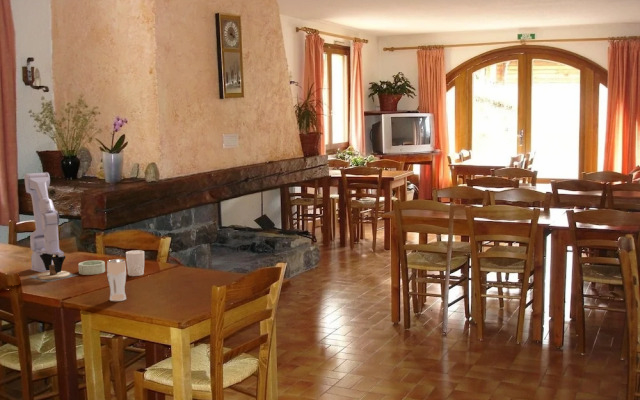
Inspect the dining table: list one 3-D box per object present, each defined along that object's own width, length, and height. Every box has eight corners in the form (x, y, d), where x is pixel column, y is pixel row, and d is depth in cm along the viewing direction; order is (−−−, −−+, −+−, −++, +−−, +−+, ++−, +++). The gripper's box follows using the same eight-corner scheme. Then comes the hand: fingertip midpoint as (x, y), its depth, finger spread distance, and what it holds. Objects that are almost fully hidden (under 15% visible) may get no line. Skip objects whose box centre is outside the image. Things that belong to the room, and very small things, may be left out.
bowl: (74, 273, 316) (73, 263, 315) (95, 269, 324) (95, 259, 324) (88, 277, 309) (87, 266, 308) (110, 272, 317) (109, 262, 317)
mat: (28, 278, 308) (28, 277, 307) (59, 272, 319) (59, 270, 319) (47, 283, 298) (47, 282, 298) (79, 276, 310) (78, 275, 310)
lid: (31, 277, 308) (30, 266, 307) (58, 271, 318) (58, 260, 317) (48, 281, 299) (47, 270, 299) (75, 275, 310) (75, 264, 309)
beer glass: (110, 297, 275) (108, 259, 273) (128, 296, 275) (127, 258, 274) (106, 302, 268) (104, 262, 266) (125, 301, 269) (123, 262, 267)
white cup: (140, 276, 308) (139, 254, 307) (123, 276, 310) (122, 253, 309) (148, 272, 316) (147, 250, 315) (131, 272, 318) (130, 250, 316)
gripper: (33, 239, 308) (35, 270, 310) (52, 243, 299) (54, 275, 301) (48, 237, 313) (50, 267, 315) (67, 240, 304) (69, 272, 306)
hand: (53, 271), depth 308 cm, fingers open, 7 cm apart
